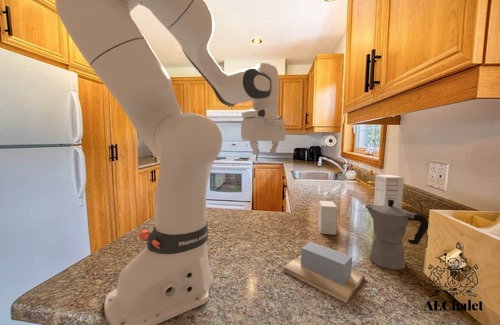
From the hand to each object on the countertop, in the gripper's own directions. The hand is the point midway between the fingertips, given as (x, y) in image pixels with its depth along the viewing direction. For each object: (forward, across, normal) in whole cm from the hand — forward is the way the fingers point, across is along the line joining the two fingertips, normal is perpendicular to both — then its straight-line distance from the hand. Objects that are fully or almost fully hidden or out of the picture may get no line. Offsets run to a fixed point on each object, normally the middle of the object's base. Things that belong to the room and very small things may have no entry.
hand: (264, 154), depth 78 cm
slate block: (+25, +8, +33) cm, 42 cm away
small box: (+29, -20, +15) cm, 39 cm away
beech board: (+29, +8, +27) cm, 40 cm away
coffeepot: (+29, -11, +38) cm, 49 cm away
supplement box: (+30, -72, +24) cm, 81 cm away
